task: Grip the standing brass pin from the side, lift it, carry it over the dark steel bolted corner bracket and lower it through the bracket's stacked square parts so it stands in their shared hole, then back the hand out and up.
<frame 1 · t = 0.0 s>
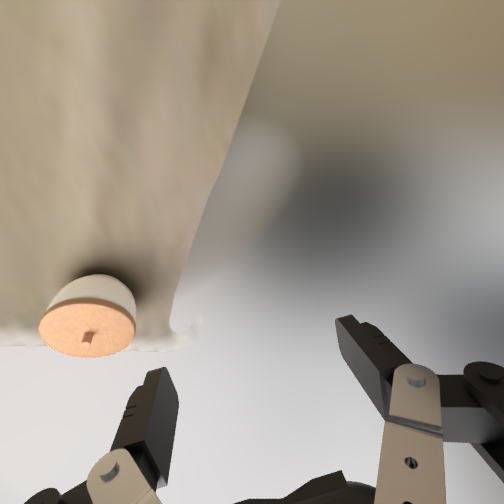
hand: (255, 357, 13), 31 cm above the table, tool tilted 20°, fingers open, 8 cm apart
lidded bowl: (102, 288, 48), on the table
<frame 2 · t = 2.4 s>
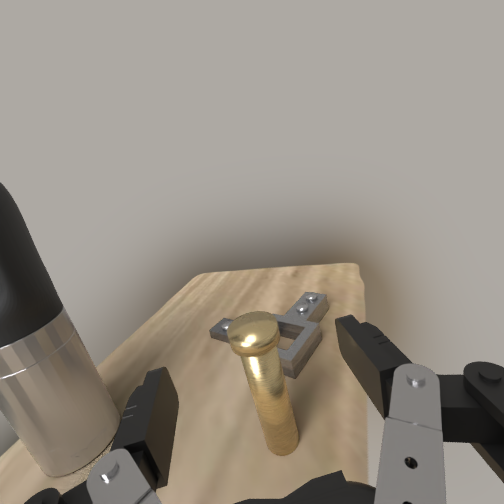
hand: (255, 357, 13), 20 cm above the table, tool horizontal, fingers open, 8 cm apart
bolted corner bracket: (284, 350, 43), on the table
brass pin: (282, 438, 30), on the table
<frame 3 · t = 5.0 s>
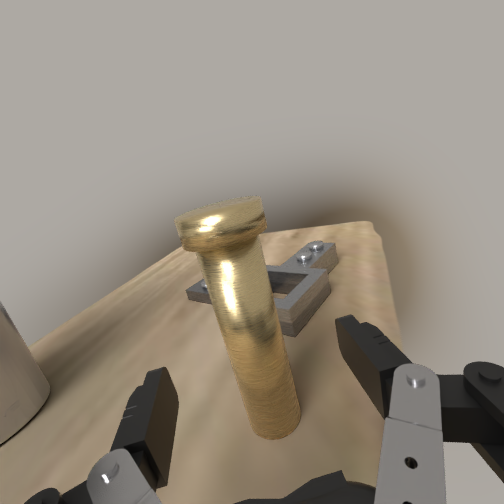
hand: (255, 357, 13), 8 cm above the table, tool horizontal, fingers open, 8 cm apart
bolted corner bracket: (280, 306, 32), on the table
brass pin: (275, 414, 19), on the table
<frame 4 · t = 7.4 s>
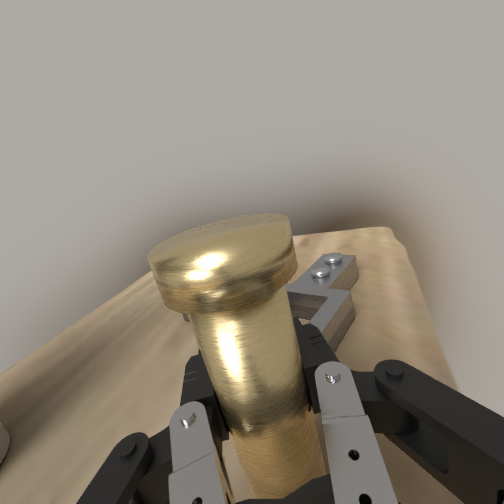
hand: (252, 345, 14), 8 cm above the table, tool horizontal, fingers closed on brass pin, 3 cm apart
bolted corner bracket: (294, 335, 27), on the table
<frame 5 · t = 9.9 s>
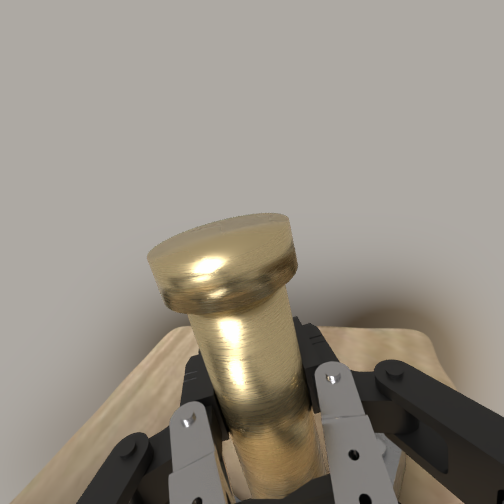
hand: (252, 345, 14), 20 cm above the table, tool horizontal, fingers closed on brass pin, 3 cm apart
when the fingers open (9 cm above the table, at t = 12.6 s): brass pin drops 1 cm, resting in bolted corner bracket.
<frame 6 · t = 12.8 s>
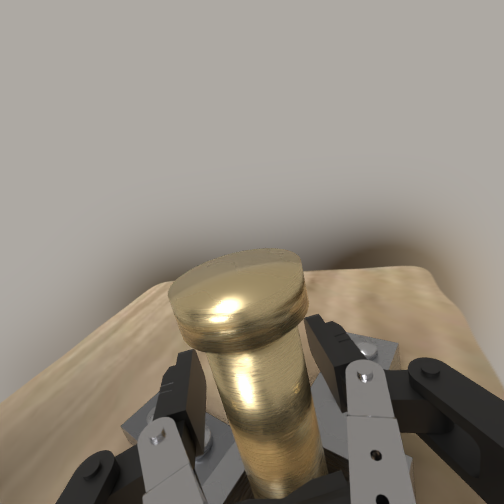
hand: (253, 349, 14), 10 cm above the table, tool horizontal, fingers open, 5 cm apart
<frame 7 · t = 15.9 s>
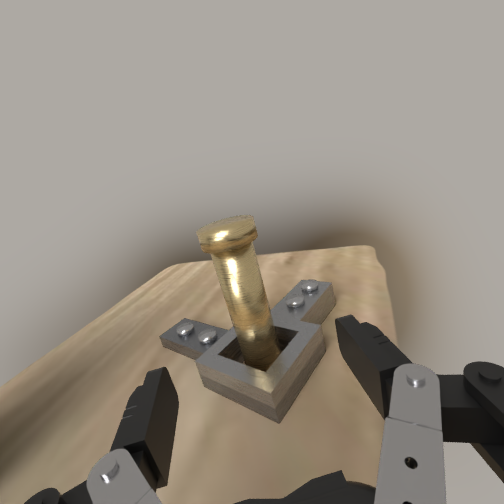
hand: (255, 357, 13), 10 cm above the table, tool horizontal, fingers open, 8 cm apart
bolted corner bracket: (265, 368, 27), on the table
brass pin: (266, 369, 27), resting in bolted corner bracket
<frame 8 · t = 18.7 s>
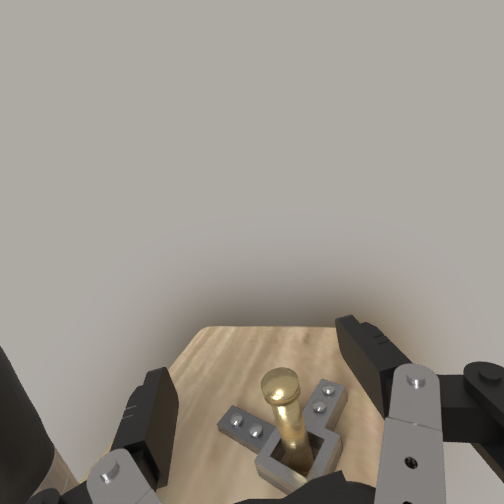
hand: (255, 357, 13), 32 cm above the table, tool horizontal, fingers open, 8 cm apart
bolted corner bracket: (301, 463, 39), on the table
brass pin: (301, 463, 39), resting in bolted corner bracket
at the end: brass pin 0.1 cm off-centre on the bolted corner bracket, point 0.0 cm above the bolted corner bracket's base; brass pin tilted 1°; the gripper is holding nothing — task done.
